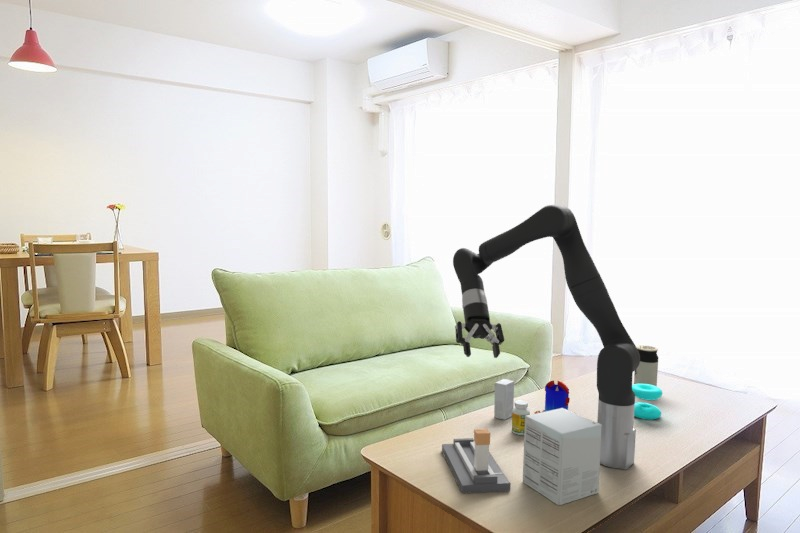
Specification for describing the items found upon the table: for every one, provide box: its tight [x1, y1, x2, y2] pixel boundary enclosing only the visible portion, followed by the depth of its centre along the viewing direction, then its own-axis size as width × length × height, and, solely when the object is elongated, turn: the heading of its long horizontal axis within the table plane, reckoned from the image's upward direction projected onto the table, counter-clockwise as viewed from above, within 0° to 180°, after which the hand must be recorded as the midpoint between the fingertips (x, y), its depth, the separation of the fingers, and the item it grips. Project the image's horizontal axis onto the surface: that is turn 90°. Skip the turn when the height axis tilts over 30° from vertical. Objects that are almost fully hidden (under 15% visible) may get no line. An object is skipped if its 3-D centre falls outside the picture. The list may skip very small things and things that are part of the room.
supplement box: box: [522, 408, 602, 506], centre depth 134 cm, size 13×13×18 cm
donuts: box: [632, 383, 663, 421], centre depth 185 cm, size 10×10×10 cm
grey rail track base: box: [441, 437, 511, 494], centre depth 144 cm, size 24×12×4 cm, turn 7°
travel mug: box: [633, 345, 659, 387], centre depth 208 cm, size 8×8×18 cm
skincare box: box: [493, 378, 515, 421], centre depth 182 cm, size 6×4×12 cm
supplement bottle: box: [511, 399, 531, 436], centre depth 169 cm, size 5×5×10 cm
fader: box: [473, 428, 491, 475], centre depth 137 cm, size 3×3×11 cm
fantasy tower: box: [533, 380, 571, 414], centre depth 185 cm, size 12×12×12 cm
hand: (482, 356), depth 158 cm, fingers open, 8 cm apart
